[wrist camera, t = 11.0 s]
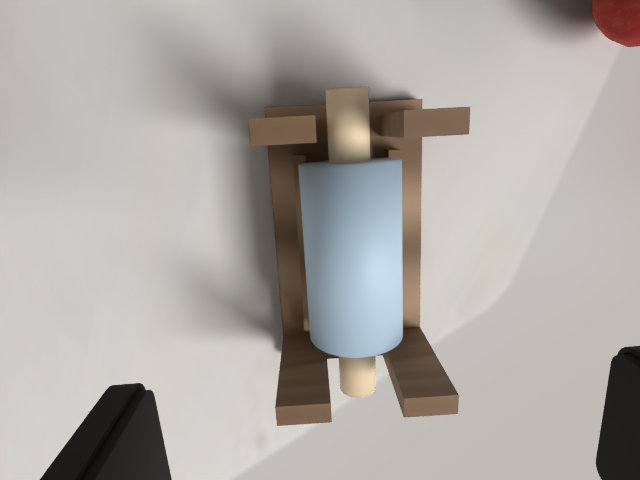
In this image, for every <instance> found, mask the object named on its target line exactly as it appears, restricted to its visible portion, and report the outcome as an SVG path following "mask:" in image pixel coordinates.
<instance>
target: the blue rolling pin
mask: <svg viewBox="0 0 640 480" xmlns="http://www.w3.org/2000/svg"><path fill="white" fill-rule="evenodd" d="M325 92H326V112H327V132H328V152H329V160H324V161H315V162H308V163H303V164H299V165H298V168H299V183H300V197H301V211H302V226H303V240H304V255H305V269H306V283H307V298H308V312H309V326H310V339H311V341H312V343H313V344H314V345H315V346H316V347H317V348H318V349H320V350H322V351H324V352H326V353H329V354H332V355H335V356H339V370H340V388H341V391H342V392H343V393H344V394H346V395H348V396H350V397H356V398H361V397H366V396H369V395H371V394H372V393H373V392H374V391H375V389H376V371H375V356H376V355H380V354H383V353H386V352H388V351H390V350H392V349H393V348H395V347H396V346H397V345H398V344H399V343H400V342H401V340H402V338H403V264H402V159H397V158H370V126H369V88H367V87H348V88H336V89H330V90H326V91H325Z"/></svg>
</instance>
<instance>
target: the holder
mask: <svg viewBox="0 0 640 480" xmlns="http://www.w3.org/2000/svg"><path fill="white" fill-rule="evenodd" d="M264 108H265V118H254V119H248V122H249V133H250V143H251V146H265V145H268V156H269V168H270V180H271V192H272V204H273V216H274V228H275V239H276V251H277V263H278V275H279V287H280V299H281V311H282V323H283V335H284V336H283V345H282V354H281V362H280V371H279V380H278V389H277V397H276V406H275V408H276V419H277V426H281V425H296V424H311V423H326V422H332V421H331V402H330V390H329V379H328V367H327V359H330V358H339V356H335V355H332V354H329V353H326V352H324V351H322V350H320V349H318V348H317V347H316V346H315V345H314V344H313V343H312V341H311V339H310V326H309V312H308V298H307V283H306V269H305V255H304V240H303V226H302V211H301V197H300V183H299V168H298V165H299V164H303V163H308V162H315V161H324V160H329V152H328V132H327V112H326V104H320V105H301V106H282V107H264ZM469 123H470V107H457V108H438V109H422V99H412V100H394V101H375V102H369V126H370V158H397V159H402V264H403V338H402V340H401V342H400V343H399V344H398V345H397V346H396V347H395V348H393V349H392V350H390V351H388V352H386V353H383V354H380V355H383V357H384V360H385V363H386V366H387V369H388V372H389V375H390V378H391V381H392V384H393V386H394V389H395V392H396V395H397V398H398V401H399V404H400V407H401V410H402V413H403V416H404V417H416V416H433V415H448V414H457V413H458V398H459V395H458V393H457V392H456V390H455V388H454V386H453V384H452V383H451V381H450V379H449V377H448V376H447V374H446V372H445V370H444V369H443V367H442V365H441V363H440V362H439V360H438V358H437V357H436V355H435V353H434V351H433V349H432V348H431V346H430V344H429V342H428V341H427V339H426V337H425V335H424V334H423V332H422V330H421V328H420V260H421V170H422V137H428V136H446V135H464V134H469ZM376 356H377V355H376Z"/></svg>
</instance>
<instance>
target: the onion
mask: <svg viewBox="0 0 640 480" xmlns="http://www.w3.org/2000/svg"><path fill="white" fill-rule="evenodd" d="M592 12H593V16H594V19H595V23H596V26H597V27H598V28H599V29H600V30H601V32H602V33H603V34H604V35H605V36H606V37H607V38H609V39H610V40H612V41H615V42H617V43H620V44H622V45H624V46H627V47H634V46H640V0H593V1H592Z"/></svg>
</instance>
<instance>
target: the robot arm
mask: <svg viewBox="0 0 640 480" xmlns="http://www.w3.org/2000/svg"><path fill="white" fill-rule="evenodd" d="M596 467H597V470H598V473H599V475H600V477H601V479H602V480H640V346H634V347H624V348H622V349H621V350H620V351H619V352H618V355H617V356H614V357H613V359H612V361H611V367H610V373H609V380H608V386H607V393H606V399H605V406H604V412H603V419H602V425H601V431H600V438H599V444H598V451H597V457H596ZM40 480H171V475H170V470H169V465H168V460H167V455H166V450H165V445H164V441H163V436H162V431H161V426H160V421H159V416H158V411H157V406H156V402H155V397H154V393H153V392H152V391H151V390H145V387H144V386H143V384H141V383H136V384H123V385H112V386H110V387H109V388H108V389H107V390H106V391H105V392H104V394H103V395H102V397H101V398H100V399H99V401H98V402H97V403H96V405H95V406H94V407H93V409H92V410H91V411H90V413H89V414H88V415H87V417H86V418H85V419H84V421H83V422H82V423H81V425H80V426H79V428H78V429H77V430H76V432H75V433H74V434H73V436H72V437H71V438H70V440H69V441H68V442H67V444H66V445H65V446H64V448H63V449H62V450H61V452H60V453H59V454H58V456H57V457H56V459H55V460H54V461H53V463H52V464H51V465H50V467H49V468H48V469H47V471H46V472H45V473H44V475H43V476H42V477H41V479H40Z"/></svg>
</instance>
